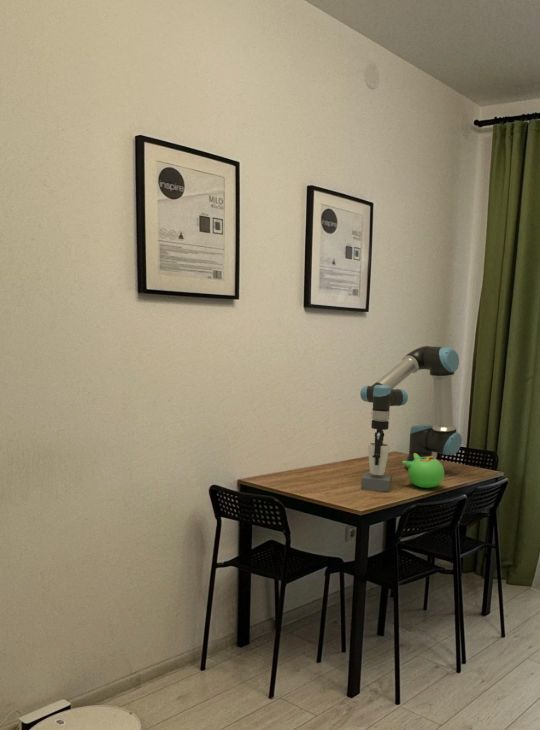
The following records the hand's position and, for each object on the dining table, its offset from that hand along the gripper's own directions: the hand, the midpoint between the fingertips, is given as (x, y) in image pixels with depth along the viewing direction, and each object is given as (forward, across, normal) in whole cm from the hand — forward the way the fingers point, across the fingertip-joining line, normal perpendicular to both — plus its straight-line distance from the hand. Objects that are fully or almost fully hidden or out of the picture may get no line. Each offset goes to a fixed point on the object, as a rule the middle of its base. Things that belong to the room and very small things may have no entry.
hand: (377, 469), depth 279 cm
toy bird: (+8, -11, +20) cm, 25 cm away
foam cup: (+2, 0, 0) cm, 2 cm away
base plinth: (+8, 0, 0) cm, 8 cm away
